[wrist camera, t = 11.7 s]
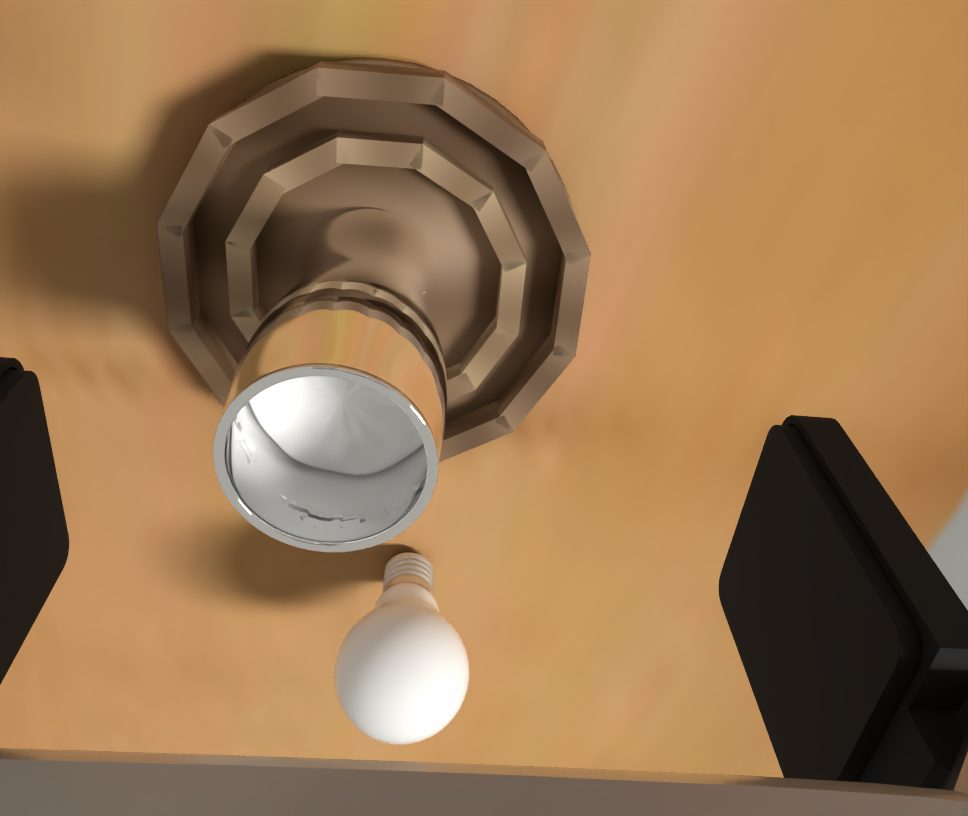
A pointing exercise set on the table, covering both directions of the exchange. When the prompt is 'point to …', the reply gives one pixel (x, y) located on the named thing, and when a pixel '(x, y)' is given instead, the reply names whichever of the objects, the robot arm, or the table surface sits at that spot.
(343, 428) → the beer glass
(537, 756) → the table surface
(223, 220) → the tray
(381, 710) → the lightbulb
